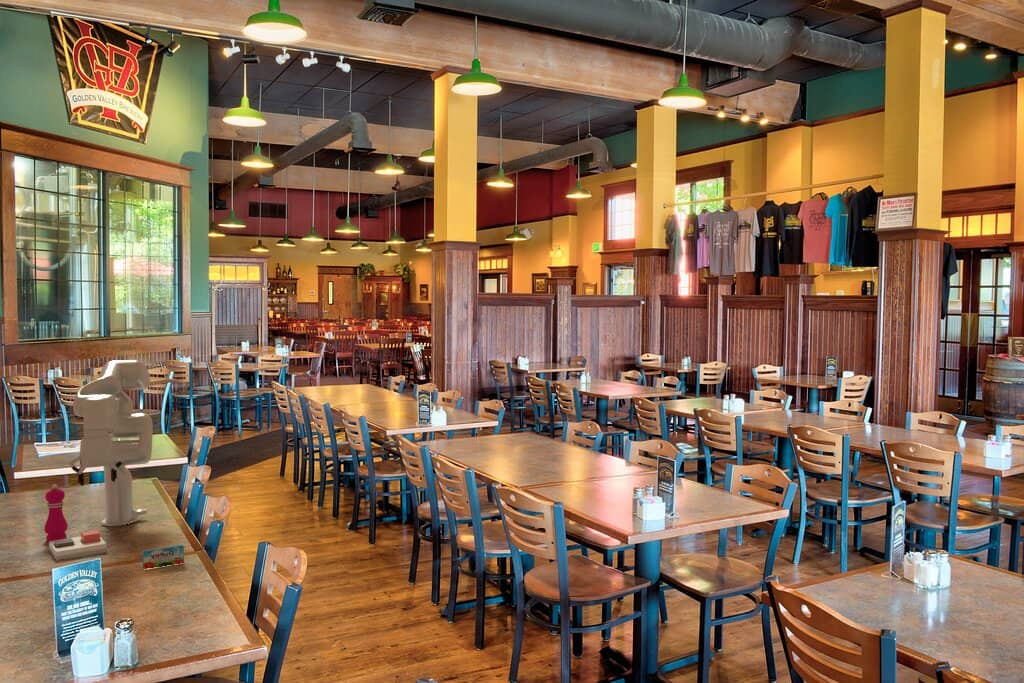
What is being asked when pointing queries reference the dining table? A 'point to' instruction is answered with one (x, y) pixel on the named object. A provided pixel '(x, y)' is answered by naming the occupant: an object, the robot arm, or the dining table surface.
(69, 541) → the button black
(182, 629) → the dining table surface
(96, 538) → the button red
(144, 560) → the blue printed product box
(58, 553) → the switch panel
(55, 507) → the pepper mill
